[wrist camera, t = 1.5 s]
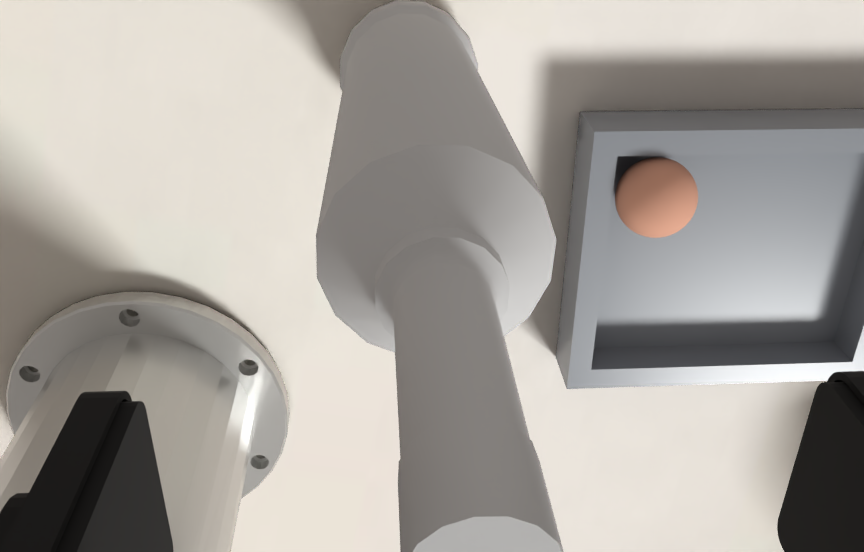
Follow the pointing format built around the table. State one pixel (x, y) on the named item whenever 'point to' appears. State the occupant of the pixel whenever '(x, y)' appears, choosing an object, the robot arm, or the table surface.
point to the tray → (718, 252)
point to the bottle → (439, 275)
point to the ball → (656, 197)
